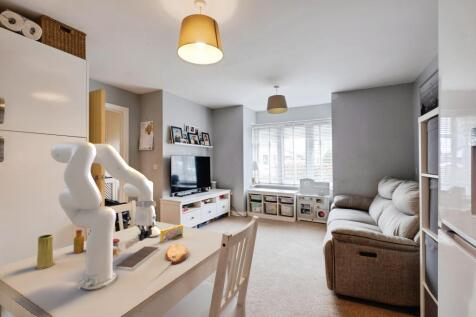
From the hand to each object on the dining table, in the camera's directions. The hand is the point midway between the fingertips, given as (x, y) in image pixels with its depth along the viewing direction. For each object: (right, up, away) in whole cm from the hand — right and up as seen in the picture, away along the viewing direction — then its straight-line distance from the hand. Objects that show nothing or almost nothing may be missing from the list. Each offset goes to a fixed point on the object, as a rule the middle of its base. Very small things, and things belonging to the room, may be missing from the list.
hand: (145, 237), depth 120 cm
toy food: (-26, -9, +2) cm, 28 cm away
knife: (-1, 0, -6) cm, 6 cm away
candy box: (+8, -10, +21) cm, 24 cm away
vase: (-42, -9, -15) cm, 45 cm away
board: (-1, -9, -5) cm, 11 cm away
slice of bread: (+17, -10, -1) cm, 20 cm away
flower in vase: (-8, -10, +29) cm, 32 cm away
